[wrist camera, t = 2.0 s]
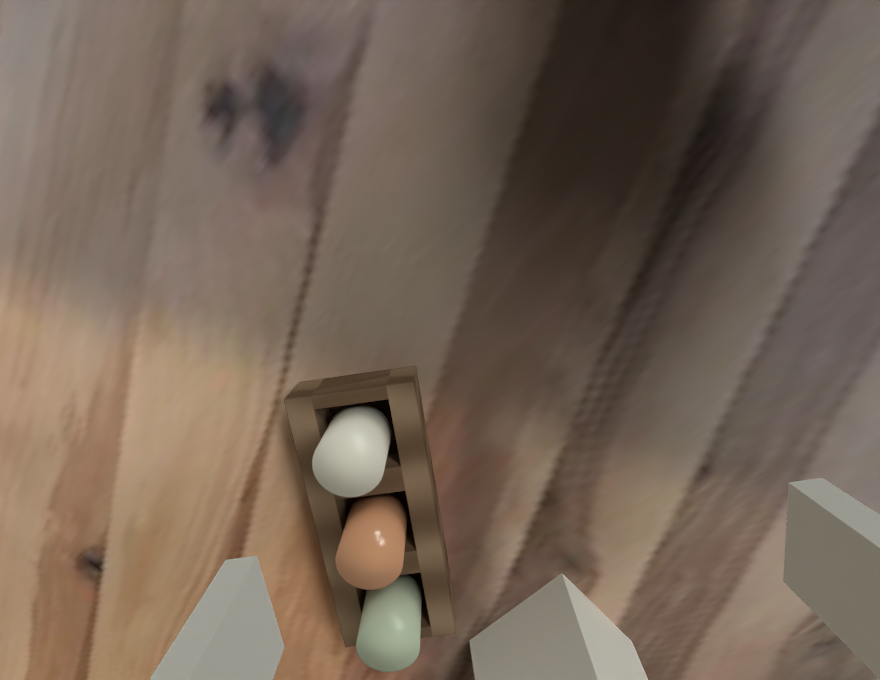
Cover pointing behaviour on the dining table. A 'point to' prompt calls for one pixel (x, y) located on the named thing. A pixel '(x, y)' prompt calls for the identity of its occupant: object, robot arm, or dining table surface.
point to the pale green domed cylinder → (391, 625)
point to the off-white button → (353, 451)
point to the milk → (555, 641)
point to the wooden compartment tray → (378, 490)
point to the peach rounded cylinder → (373, 542)
